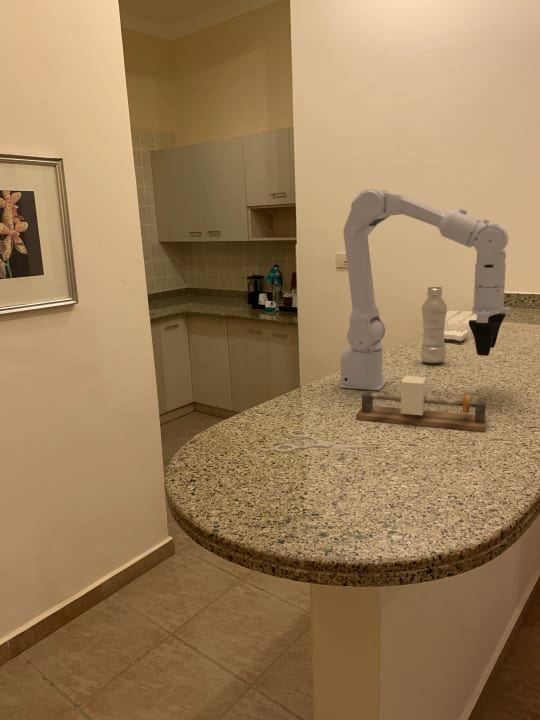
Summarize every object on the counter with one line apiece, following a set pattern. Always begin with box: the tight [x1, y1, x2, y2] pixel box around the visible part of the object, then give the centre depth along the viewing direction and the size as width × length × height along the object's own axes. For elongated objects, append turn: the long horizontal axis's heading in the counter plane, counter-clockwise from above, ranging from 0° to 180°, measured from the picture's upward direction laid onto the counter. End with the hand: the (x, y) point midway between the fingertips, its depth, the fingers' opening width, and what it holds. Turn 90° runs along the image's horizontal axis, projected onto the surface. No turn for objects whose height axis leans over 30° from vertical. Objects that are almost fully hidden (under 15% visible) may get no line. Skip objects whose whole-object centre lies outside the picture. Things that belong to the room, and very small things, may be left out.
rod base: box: [355, 391, 488, 433], centre depth 103 cm, size 24×6×6 cm, turn 66°
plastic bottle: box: [420, 286, 448, 365], centre depth 142 cm, size 6×7×20 cm
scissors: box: [262, 429, 380, 458], centre depth 94 cm, size 11×1×20 cm
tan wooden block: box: [400, 375, 427, 415], centre depth 103 cm, size 4×4×6 cm
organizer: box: [444, 310, 477, 342], centre depth 179 cm, size 13×5×35 cm
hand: (486, 351), depth 113 cm, fingers open, 7 cm apart
